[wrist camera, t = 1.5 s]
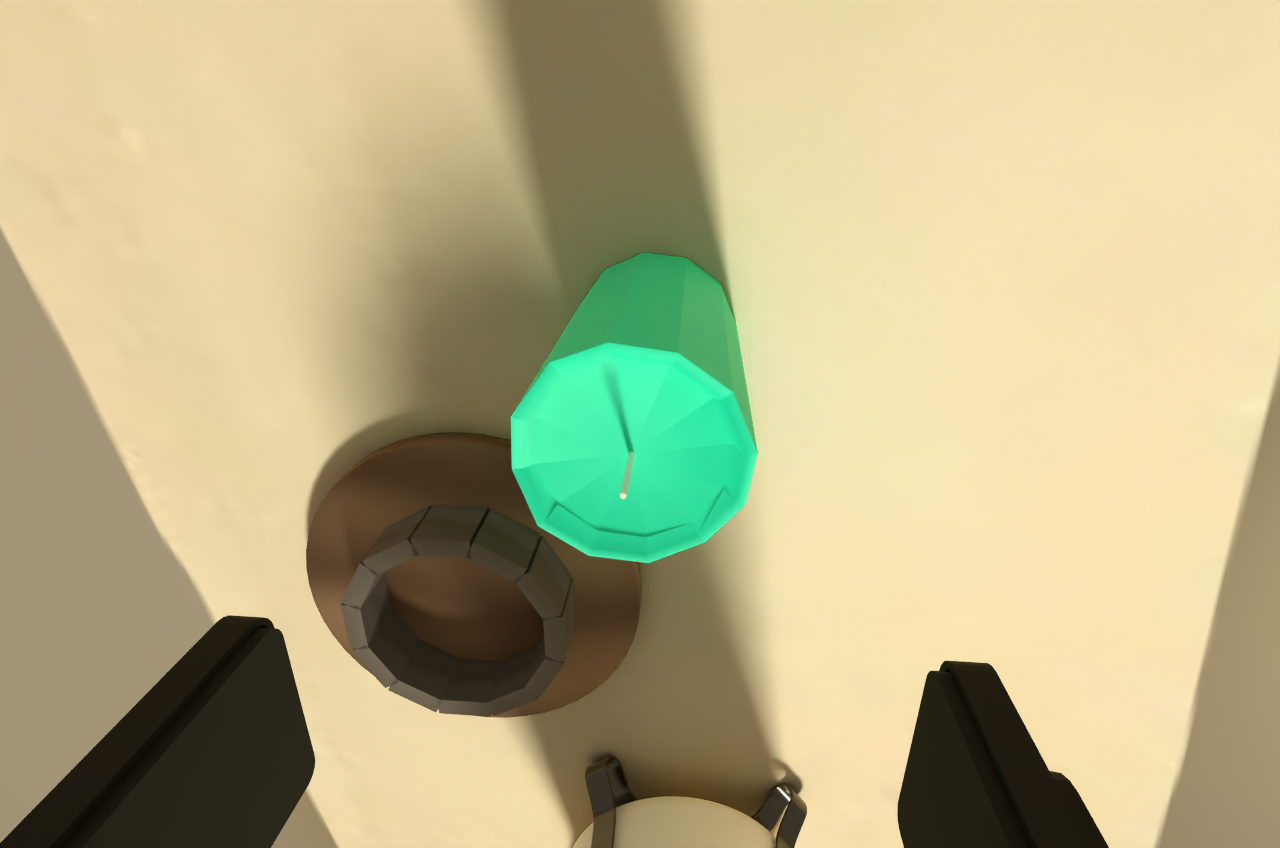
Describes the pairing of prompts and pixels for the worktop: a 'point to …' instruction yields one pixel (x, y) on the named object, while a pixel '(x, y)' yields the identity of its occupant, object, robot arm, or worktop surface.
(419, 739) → the worktop surface
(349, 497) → the candle holder
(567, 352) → the candle
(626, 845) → the coffee press
